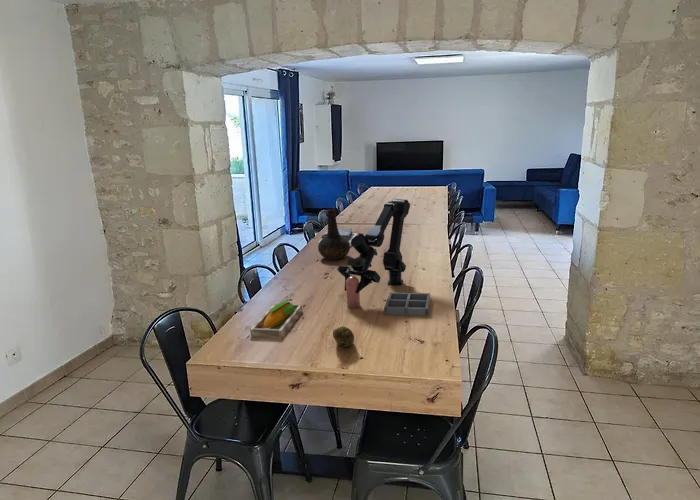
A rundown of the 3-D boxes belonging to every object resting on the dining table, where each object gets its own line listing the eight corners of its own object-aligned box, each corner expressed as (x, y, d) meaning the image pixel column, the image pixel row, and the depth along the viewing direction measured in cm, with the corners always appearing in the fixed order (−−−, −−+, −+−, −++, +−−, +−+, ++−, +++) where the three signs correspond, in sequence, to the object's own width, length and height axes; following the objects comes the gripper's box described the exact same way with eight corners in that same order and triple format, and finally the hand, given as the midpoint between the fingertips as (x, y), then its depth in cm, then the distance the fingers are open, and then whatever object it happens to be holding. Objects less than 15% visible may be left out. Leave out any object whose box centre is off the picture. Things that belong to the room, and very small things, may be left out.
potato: (359, 338, 172) (358, 317, 170) (352, 355, 160) (351, 332, 157) (337, 337, 173) (335, 316, 171) (328, 353, 161) (326, 331, 159)
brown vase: (351, 253, 280) (349, 205, 273) (348, 262, 263) (346, 211, 255) (321, 254, 282) (318, 206, 275) (316, 263, 265) (312, 212, 257)
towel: (326, 239, 315) (325, 227, 313) (354, 238, 312) (353, 227, 310) (321, 245, 301) (320, 232, 299) (350, 244, 298) (349, 232, 296)
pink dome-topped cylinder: (348, 303, 204) (347, 274, 201) (361, 303, 203) (359, 274, 200) (346, 308, 199) (344, 278, 196) (358, 308, 198) (357, 278, 195)
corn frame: (274, 310, 201) (274, 303, 200) (302, 311, 198) (301, 304, 198) (251, 336, 177) (250, 329, 176) (282, 338, 175) (281, 330, 174)
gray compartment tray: (389, 299, 207) (389, 292, 206) (430, 300, 203) (429, 293, 202) (384, 314, 191) (384, 307, 190) (427, 316, 187) (427, 308, 186)
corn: (297, 297, 193) (272, 316, 175) (300, 315, 195) (275, 335, 177) (281, 296, 196) (255, 315, 178) (284, 314, 198) (258, 334, 180)
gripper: (338, 246, 203) (323, 279, 198) (375, 252, 192) (360, 286, 187) (350, 259, 212) (336, 291, 206) (386, 265, 201) (372, 299, 195)
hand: (350, 291), depth 198 cm, fingers closed on pink dome-topped cylinder, 5 cm apart
